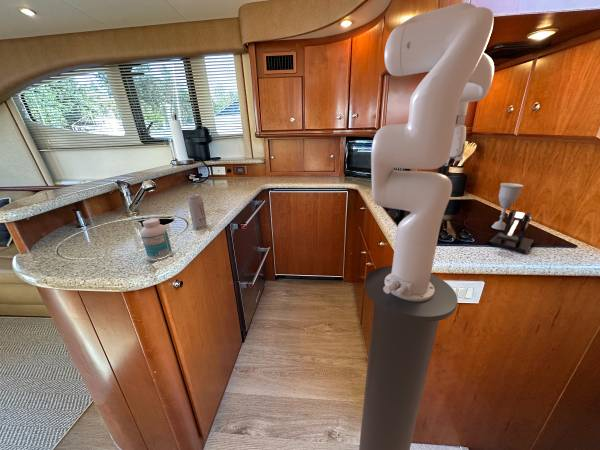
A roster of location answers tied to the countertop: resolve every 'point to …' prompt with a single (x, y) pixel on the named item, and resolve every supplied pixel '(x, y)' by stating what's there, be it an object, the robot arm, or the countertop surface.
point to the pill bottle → (155, 240)
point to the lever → (513, 228)
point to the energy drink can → (197, 211)
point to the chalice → (506, 201)
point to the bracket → (522, 244)
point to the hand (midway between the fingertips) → (441, 176)
